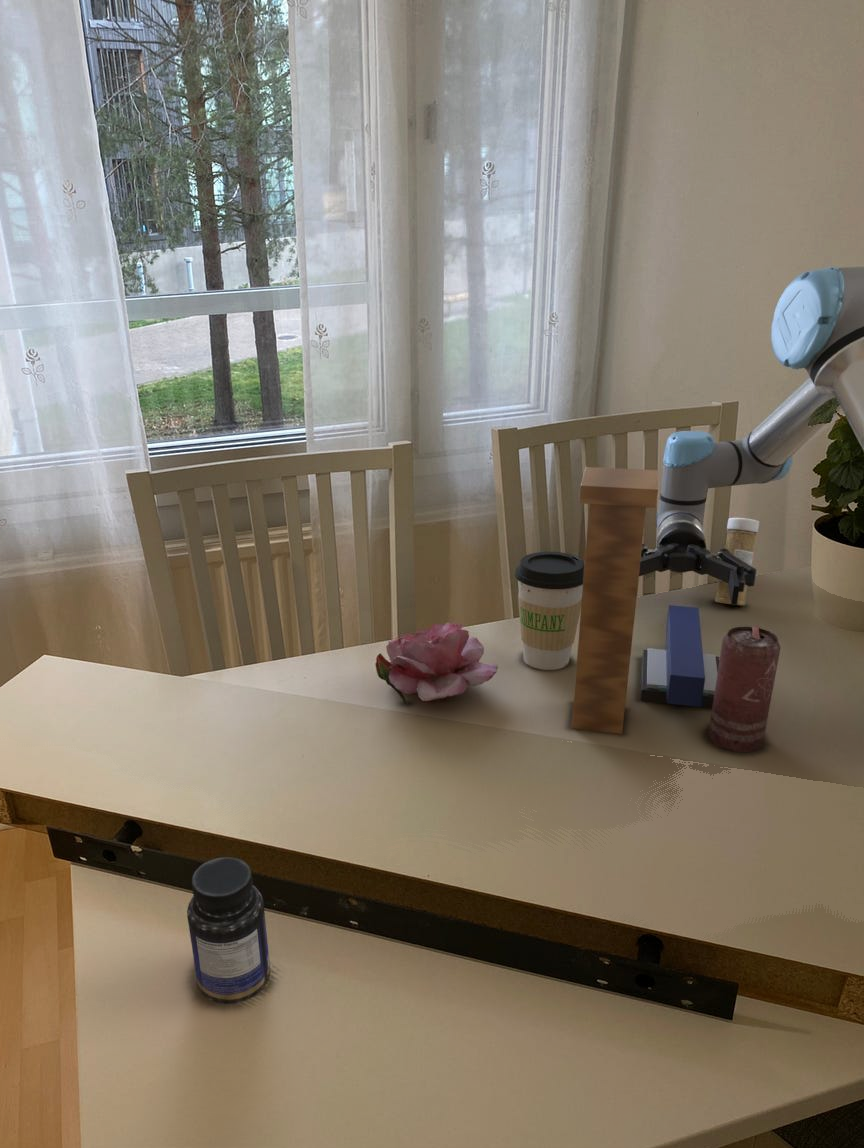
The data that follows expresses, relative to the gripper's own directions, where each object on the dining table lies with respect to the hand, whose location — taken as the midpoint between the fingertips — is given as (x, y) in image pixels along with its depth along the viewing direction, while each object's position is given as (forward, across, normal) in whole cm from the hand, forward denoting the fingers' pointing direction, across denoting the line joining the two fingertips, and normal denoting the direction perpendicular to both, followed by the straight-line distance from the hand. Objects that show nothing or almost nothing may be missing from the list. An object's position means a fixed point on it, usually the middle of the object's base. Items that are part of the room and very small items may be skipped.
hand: (684, 591), depth 129 cm
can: (+26, -6, -9) cm, 28 cm away
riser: (+25, +10, -8) cm, 28 cm away
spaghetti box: (+12, 0, -6) cm, 14 cm away
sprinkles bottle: (-15, -8, -8) cm, 19 cm away
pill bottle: (+75, +37, -8) cm, 84 cm away
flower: (+23, +31, -8) cm, 40 cm away
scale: (+13, 0, -8) cm, 16 cm away
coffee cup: (+10, +18, -8) cm, 22 cm away
